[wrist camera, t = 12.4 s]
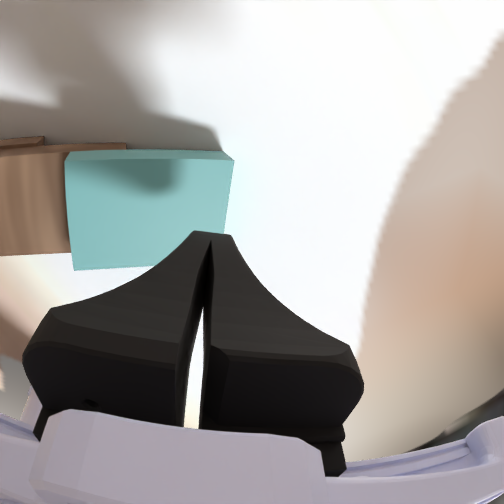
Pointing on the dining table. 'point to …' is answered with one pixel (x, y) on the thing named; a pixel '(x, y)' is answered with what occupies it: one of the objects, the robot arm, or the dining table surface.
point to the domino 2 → (142, 203)
